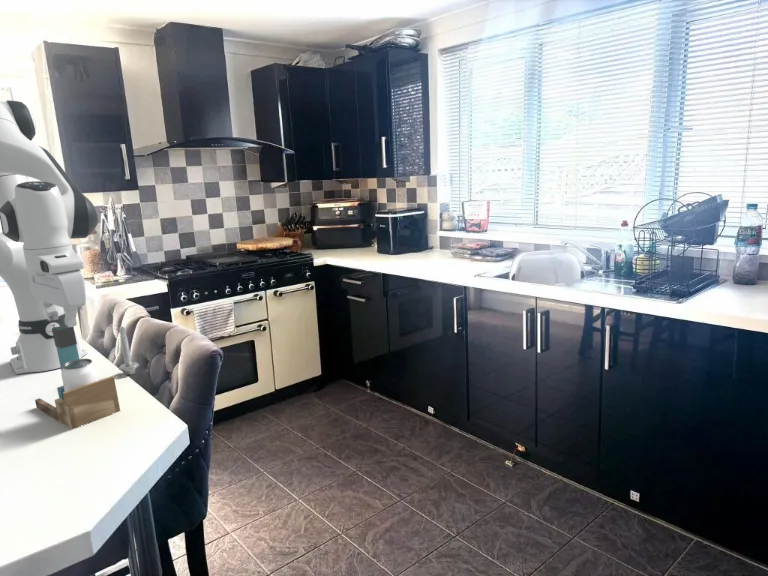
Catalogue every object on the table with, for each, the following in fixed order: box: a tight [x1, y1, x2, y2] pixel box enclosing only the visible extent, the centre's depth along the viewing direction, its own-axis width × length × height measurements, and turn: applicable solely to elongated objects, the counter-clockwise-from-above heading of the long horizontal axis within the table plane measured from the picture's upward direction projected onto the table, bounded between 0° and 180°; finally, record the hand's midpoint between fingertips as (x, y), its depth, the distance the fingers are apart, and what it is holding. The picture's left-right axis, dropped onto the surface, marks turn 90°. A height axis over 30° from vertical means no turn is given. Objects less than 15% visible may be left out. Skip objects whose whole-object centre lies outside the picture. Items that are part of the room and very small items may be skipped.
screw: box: [118, 326, 140, 376], centre depth 141 cm, size 13×5×5 cm
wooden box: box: [34, 375, 121, 430], centre depth 121 cm, size 20×10×8 cm, turn 51°
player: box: [52, 325, 79, 401], centre depth 119 cm, size 3×6×19 cm, turn 141°
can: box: [61, 358, 99, 392], centre depth 117 cm, size 6×6×12 cm
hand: (62, 322), depth 116 cm, fingers open, 8 cm apart
